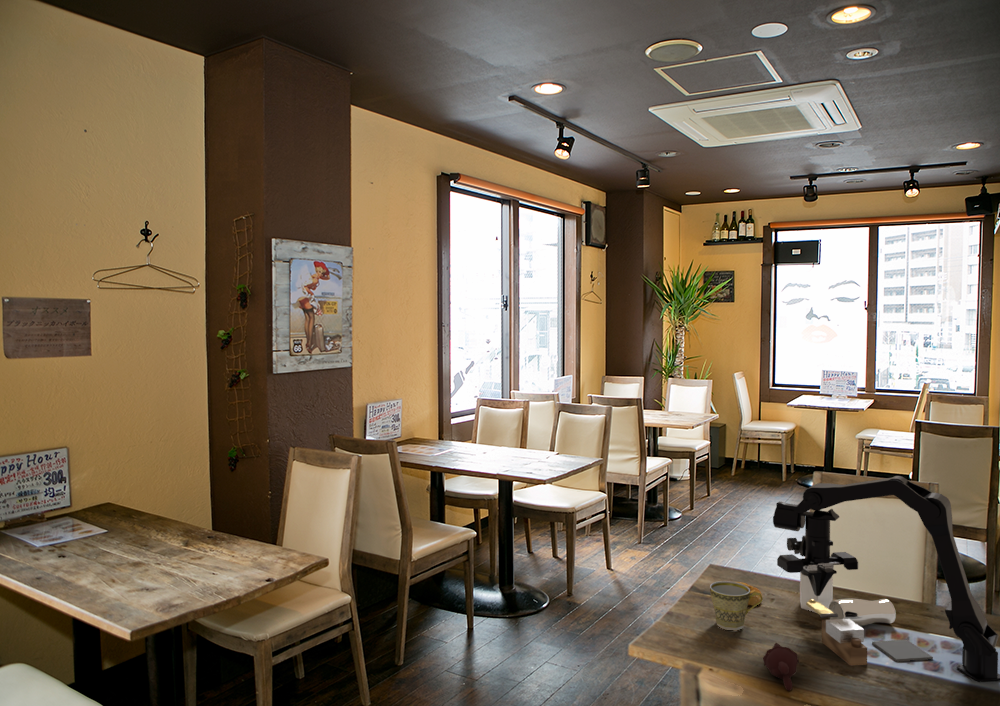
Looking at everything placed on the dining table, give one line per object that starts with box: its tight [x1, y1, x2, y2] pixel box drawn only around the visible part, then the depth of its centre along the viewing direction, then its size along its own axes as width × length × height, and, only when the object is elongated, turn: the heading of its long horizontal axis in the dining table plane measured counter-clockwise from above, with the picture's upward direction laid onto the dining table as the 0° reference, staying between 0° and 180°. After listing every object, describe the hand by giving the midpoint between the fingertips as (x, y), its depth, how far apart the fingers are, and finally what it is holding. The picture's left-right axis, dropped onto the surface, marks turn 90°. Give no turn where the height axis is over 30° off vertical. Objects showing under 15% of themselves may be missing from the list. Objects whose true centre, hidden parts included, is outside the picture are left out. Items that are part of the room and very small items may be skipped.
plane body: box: [821, 618, 868, 667], centre depth 167 cm, size 12×4×6 cm, turn 6°
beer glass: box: [828, 598, 897, 627], centre depth 183 cm, size 7×7×15 cm
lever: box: [806, 599, 838, 619], centre depth 177 cm, size 9×4×2 cm, turn 6°
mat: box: [871, 639, 934, 663], centre depth 168 cm, size 9×9×1 cm
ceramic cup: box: [709, 580, 763, 631], centre depth 182 cm, size 13×10×10 cm
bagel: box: [735, 581, 764, 606], centre depth 200 cm, size 10×11×5 cm
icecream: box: [762, 642, 799, 692], centre depth 157 cm, size 7×7×15 cm
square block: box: [826, 619, 865, 643], centre depth 167 cm, size 6×6×3 cm
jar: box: [799, 570, 834, 614], centre depth 194 cm, size 9×8×12 cm
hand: (817, 595), depth 179 cm, fingers closed
